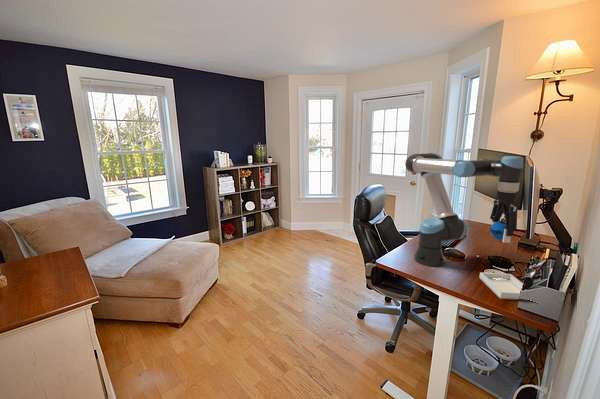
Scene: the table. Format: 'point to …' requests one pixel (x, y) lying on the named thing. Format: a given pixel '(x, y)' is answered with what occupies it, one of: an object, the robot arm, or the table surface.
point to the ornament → (498, 229)
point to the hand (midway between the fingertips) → (500, 238)
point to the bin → (502, 285)
